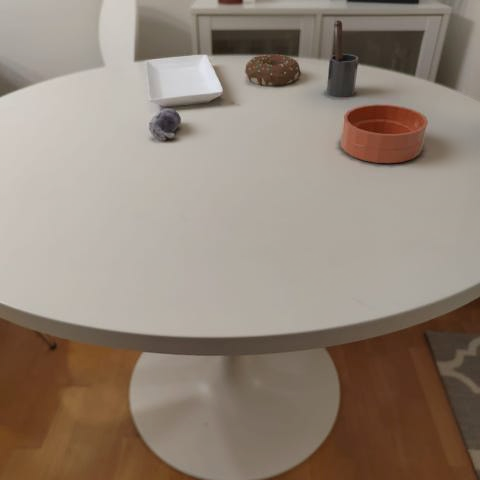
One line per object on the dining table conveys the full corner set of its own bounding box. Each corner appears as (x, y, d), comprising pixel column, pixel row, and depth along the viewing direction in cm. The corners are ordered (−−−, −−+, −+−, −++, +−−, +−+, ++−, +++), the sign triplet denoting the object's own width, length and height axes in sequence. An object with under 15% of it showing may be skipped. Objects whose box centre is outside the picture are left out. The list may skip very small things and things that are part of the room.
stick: (339, 89, 106) (337, 18, 94) (345, 91, 105) (343, 19, 93) (335, 93, 105) (332, 21, 93) (341, 94, 104) (339, 22, 93)
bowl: (367, 127, 91) (371, 99, 88) (434, 146, 84) (442, 116, 80) (325, 150, 84) (328, 121, 80) (394, 174, 76) (401, 142, 73)
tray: (150, 114, 100) (147, 98, 98) (146, 72, 124) (144, 58, 121) (225, 107, 102) (224, 91, 100) (208, 67, 126) (207, 53, 123)
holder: (336, 88, 109) (340, 52, 104) (359, 94, 105) (364, 57, 100) (320, 95, 106) (323, 58, 100) (343, 101, 102) (348, 63, 97)
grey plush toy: (166, 150, 89) (173, 131, 97) (181, 128, 86) (186, 110, 94) (142, 134, 87) (151, 116, 95) (156, 111, 84) (164, 94, 92)
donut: (243, 74, 120) (242, 53, 117) (295, 71, 120) (296, 50, 117) (247, 92, 109) (246, 69, 106) (303, 89, 110) (305, 66, 106)
